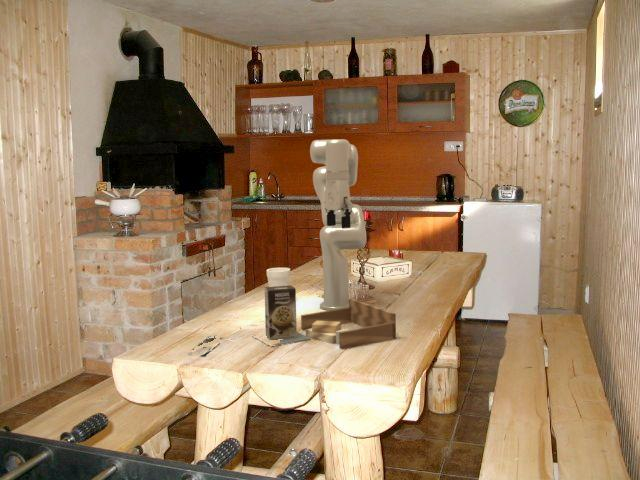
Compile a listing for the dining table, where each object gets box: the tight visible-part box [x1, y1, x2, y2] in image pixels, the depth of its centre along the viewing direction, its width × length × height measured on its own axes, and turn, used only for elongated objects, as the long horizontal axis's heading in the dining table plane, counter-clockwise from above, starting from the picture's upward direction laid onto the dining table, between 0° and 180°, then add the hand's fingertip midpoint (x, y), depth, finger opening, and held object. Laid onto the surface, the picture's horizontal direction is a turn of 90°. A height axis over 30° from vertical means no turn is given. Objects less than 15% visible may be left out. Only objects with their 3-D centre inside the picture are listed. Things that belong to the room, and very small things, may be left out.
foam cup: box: [266, 267, 291, 287], centre depth 259 cm, size 10×9×13 cm
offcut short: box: [312, 321, 342, 334], centre depth 207 cm, size 8×5×2 cm, turn 73°
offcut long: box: [305, 328, 336, 345], centre depth 207 cm, size 12×6×3 cm, turn 45°
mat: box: [253, 331, 312, 346], centre depth 209 cm, size 14×14×1 cm
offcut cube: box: [335, 328, 349, 345], centre depth 201 cm, size 4×4×4 cm
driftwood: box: [191, 335, 216, 350], centre depth 203 cm, size 21×7×2 cm, turn 168°
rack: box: [300, 298, 397, 350], centre depth 211 cm, size 26×20×8 cm
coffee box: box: [264, 284, 298, 340], centre depth 208 cm, size 9×6×16 cm
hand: (338, 226), depth 222 cm, fingers open, 9 cm apart
